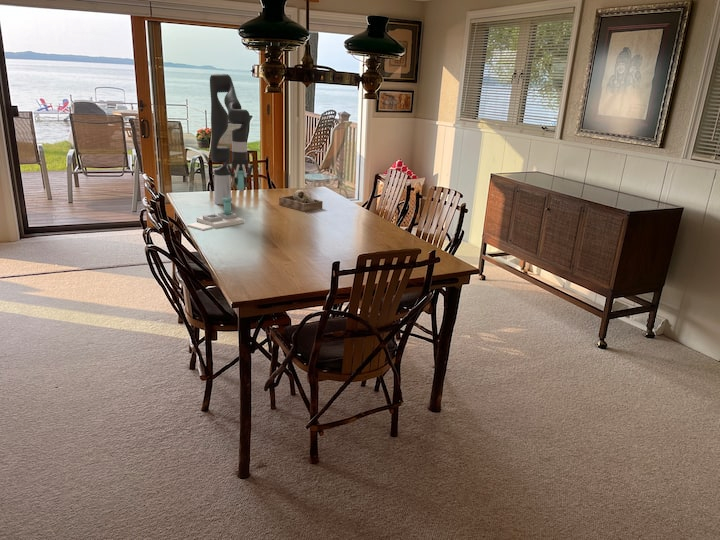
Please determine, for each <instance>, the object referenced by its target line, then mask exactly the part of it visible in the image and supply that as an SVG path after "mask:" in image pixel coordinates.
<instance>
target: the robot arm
mask: <svg viewBox="0 0 720 540" xmlns="http://www.w3.org/2000/svg"><path fill="white" fill-rule="evenodd" d="M209 91H210V129H211V142H210V143H211V144H210V158H211V162H212V163H218V164H219V163H224V164H223V165H221V166H219V167H216V168H215V169H214V170H213V175H214V176H213V177H214V187H213V191H214V192H213V193H214V196H213V197H214V203H215V204H216V205H222V206H224V201H222V198H224V197H230V198H232V187H231V182H232V179H231V177H232V178H233V177H234V183H235V184H236V185H238V182H237V174H238V170H243V171H244V170H245V171H244V185H245V184H246V183H248V177H250V176H251V173H252V171H253V169H254V164H250V163H249V162H248V143H247V132H248V127H249V124H250V118H251V115H250V113H249V112H250V111H248V110H247V109H243V108H242V105H241V103H240V100H239V99H238V97H237V93H236V90H235V86H234V83H233V79H232V78H231V75H230V74H229V73H228V74H227V73H215V74H214V73H212V74H210V77H209ZM220 93H226V94H225V96H224V98H223V99H224V100H223V101H224V105H225V107H226V109H225V107H224V106H223V104H222V103H221V101H220V99H219V96H218V94H220ZM229 123H231V124H232V125H240V126H239V127H238V128H233V130H232V132H231V148H230V147H229V146H219V142H220V140H221V138H222V137H223V136H224V135H225V133H226V132H227V130H228V127H229ZM231 158H232V159H231ZM232 167H233V169H234V170H232ZM247 168H248V170H246V169H247ZM235 170H236V171H235Z"/></svg>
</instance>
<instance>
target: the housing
mask: <svg viewBox="0 0 720 540" xmlns="http://www.w3.org/2000/svg"><path fill="white" fill-rule="evenodd" d="M197 221H198V222H197ZM196 222H197V223H201V224H205V225H208V226H212V227H213V229H214V228H215V229H217V228H219V229H220V228H224V227H229V226H234V225H236V226H237V225H240V224H244V223H245V221H244V218H242V217H238V214H237V213H235V212H232V211H231V215H224V212H218V213H217V214H216V213H213V214H206V215H202V216H197V217H196Z"/></svg>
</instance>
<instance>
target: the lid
mask: <svg viewBox="0 0 720 540" xmlns="http://www.w3.org/2000/svg"><path fill="white" fill-rule="evenodd" d="M186 226H187V227H189V228H193V229H196V230H200V231H206V230H212V229H214V227H212V226H208V225H206V224H203V223H200V222H197V221H196V222H192V223H187V224H186Z"/></svg>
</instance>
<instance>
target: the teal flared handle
mask: <svg viewBox="0 0 720 540" xmlns="http://www.w3.org/2000/svg"><path fill="white" fill-rule="evenodd" d="M222 201H224V205H223V213H224V215H231V212H232V201H233V198H232V197H231V198H230V197H224V198H222Z"/></svg>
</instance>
